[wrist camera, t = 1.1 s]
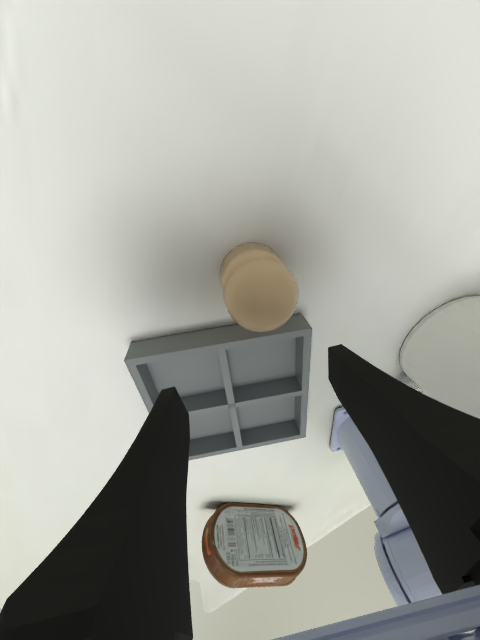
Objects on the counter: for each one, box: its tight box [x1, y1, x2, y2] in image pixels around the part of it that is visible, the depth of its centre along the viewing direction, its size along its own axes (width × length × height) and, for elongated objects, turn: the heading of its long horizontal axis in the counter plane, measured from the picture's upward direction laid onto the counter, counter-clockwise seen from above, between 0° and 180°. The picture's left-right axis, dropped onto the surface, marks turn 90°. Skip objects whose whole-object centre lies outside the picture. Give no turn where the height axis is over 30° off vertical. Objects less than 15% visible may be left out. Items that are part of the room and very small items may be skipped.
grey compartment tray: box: [124, 314, 312, 460], centre depth 23 cm, size 14×14×2 cm
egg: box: [220, 243, 298, 332], centre depth 16 cm, size 4×4×6 cm
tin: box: [202, 502, 307, 588], centre depth 34 cm, size 15×3×8 cm, turn 65°
